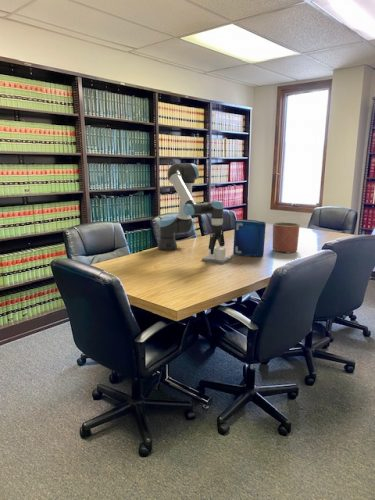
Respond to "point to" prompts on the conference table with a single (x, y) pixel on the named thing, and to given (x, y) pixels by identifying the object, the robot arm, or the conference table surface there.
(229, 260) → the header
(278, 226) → the planter
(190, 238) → the conference table surface
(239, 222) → the book
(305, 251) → the conference table surface
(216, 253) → the block
